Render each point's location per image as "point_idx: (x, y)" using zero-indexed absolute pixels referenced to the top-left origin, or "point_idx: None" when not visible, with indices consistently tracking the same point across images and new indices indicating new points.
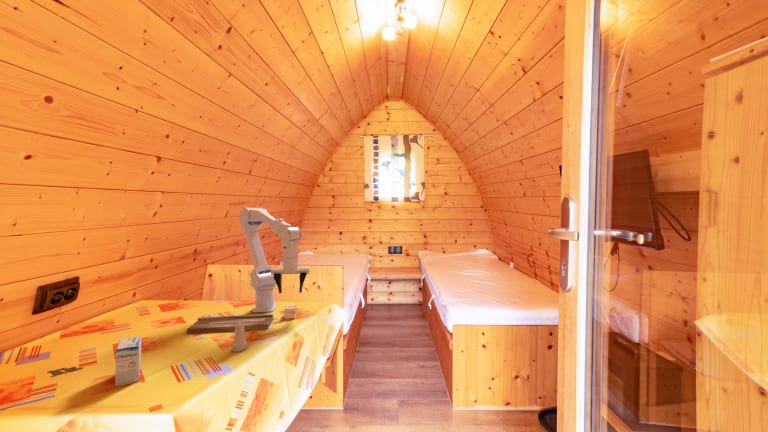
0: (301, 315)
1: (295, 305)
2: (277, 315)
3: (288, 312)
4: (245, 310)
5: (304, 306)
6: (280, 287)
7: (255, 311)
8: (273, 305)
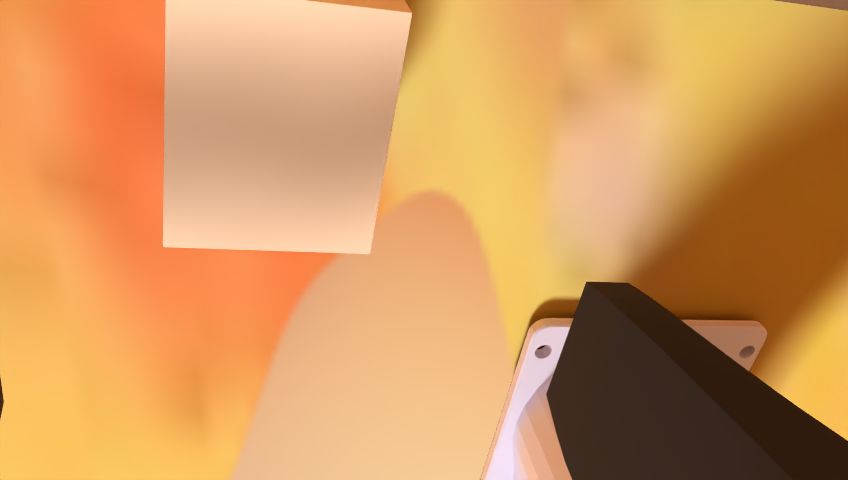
0: (68, 62)
1: (178, 188)
2: (477, 156)
3: None
4: (800, 406)
5: (87, 470)
6: (685, 397)
7: (736, 325)
8: (521, 455)
